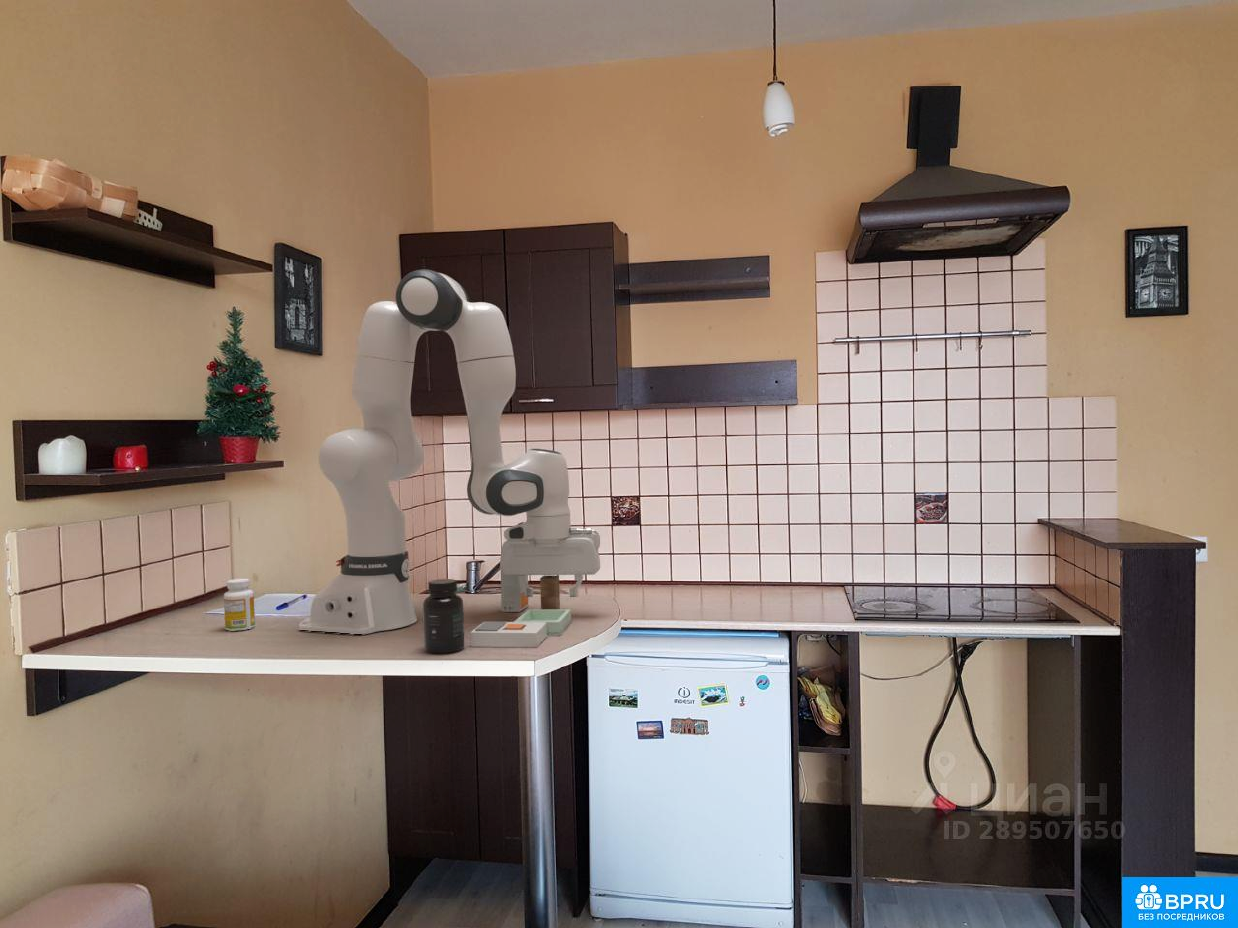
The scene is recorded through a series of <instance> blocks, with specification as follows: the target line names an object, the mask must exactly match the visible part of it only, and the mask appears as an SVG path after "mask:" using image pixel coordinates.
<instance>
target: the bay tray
mask: <svg viewBox="0 0 1238 928" xmlns="http://www.w3.org/2000/svg"><path fill="white" fill-rule="evenodd" d="M513 622H547V637H548V636H553V637H554V636H555V637H556V636H557V637H558V636H562V633H563V632H564V631H565V630H566V629H567V628H568V627H569V626H570V625H571V623H572V609H570V608H569V609H568V608H567V609H564V608H562V609H561V608H560V609H541V608H540V609H539V608H536V609H535V608H531V609H529V608H527V610H525V611H524V612H523V613H522V614H521V615H520V616H518V618H516V620H514V621H513ZM566 627H567V628H566Z"/></svg>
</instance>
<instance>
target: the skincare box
mask: <svg viewBox="0 0 1238 928" xmlns="http://www.w3.org/2000/svg"><path fill="white" fill-rule="evenodd" d="M526 582H527V584H528V585H529V575H527V579H526ZM500 592H501V594H500V595H501V596H500V597H501V598H500V601H501V603H500V604H501V612H503V613H509V612H510V613H520V612H522V611H523V610H525V609H526V608H528V607H529V597H525V596H524V589H523V587H522V586H521V584H520V583H519V581H518V575H504V574H503V573H502V572H501V571H500Z"/></svg>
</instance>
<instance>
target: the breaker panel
mask: <svg viewBox="0 0 1238 928" xmlns="http://www.w3.org/2000/svg"><path fill="white" fill-rule="evenodd" d="M508 624H525V627H524V628H523V629H522V630H504V628H505V627H506V626H507V625H508ZM547 637H548V636H547V622H514V621H482V623H480V624H479V625H478V626H476V627H475V628H474V629H473V630H471V631H470V632H469V640H470V641H469V642H470V648H471V647H475V648H477V647H478V648H480V647H482V648H484V647H485V648H491V647H492V648H538V647H539V645H541V643H542V642H543V641H544V640H545V639H546V638H547Z"/></svg>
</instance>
